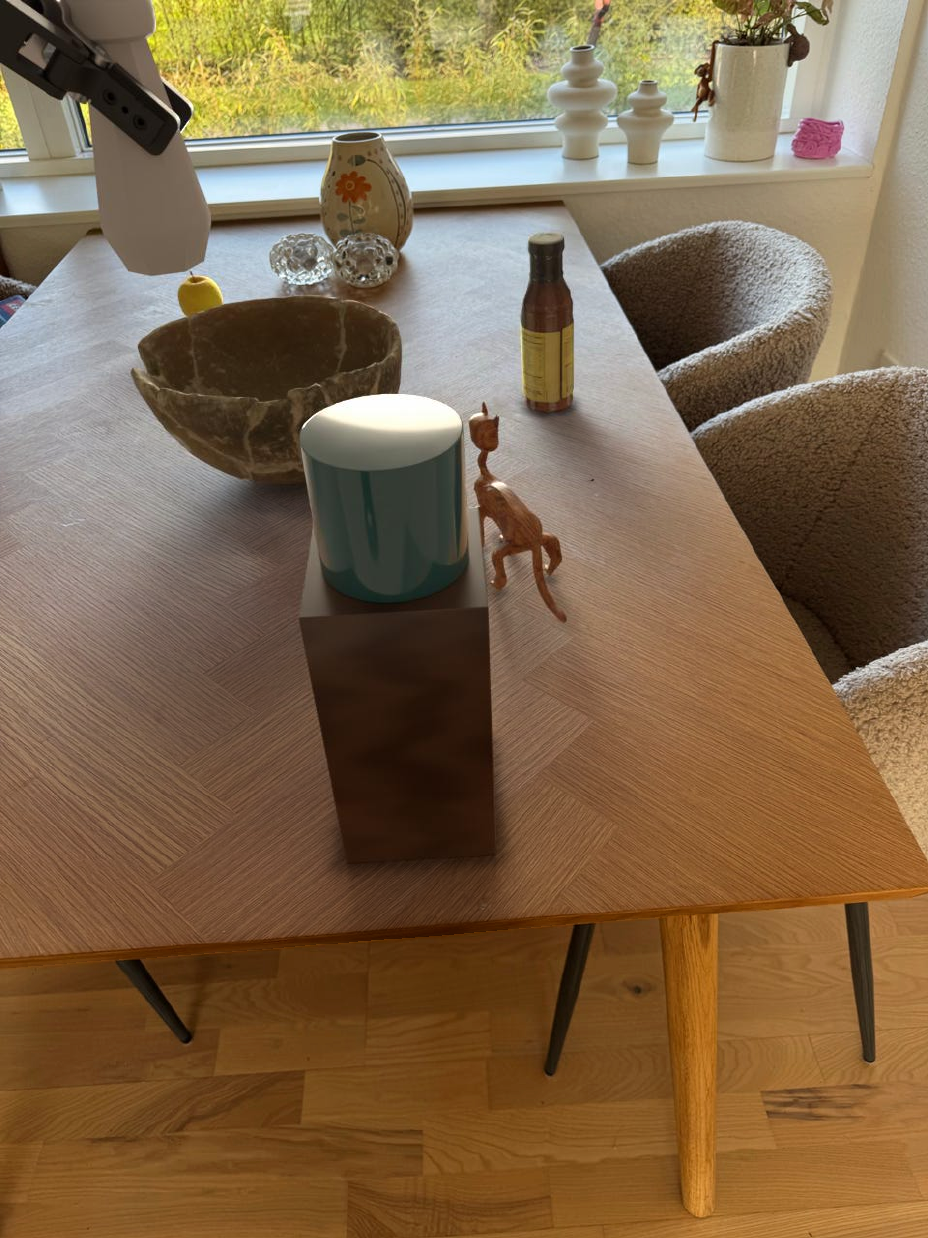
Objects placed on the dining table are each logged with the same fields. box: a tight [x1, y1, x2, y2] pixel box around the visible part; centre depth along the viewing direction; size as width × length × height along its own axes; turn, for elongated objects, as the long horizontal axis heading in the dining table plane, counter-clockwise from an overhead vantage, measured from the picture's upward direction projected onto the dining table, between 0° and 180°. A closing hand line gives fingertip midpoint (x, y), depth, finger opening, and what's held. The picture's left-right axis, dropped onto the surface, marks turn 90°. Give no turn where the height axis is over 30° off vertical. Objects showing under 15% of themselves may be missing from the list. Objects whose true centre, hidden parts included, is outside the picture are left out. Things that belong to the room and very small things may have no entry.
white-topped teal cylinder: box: [299, 393, 469, 603], centre depth 51 cm, size 11×8×8 cm
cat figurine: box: [468, 401, 568, 623], centre depth 81 cm, size 18×7×14 cm, turn 24°
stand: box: [297, 506, 497, 864], centre depth 59 cm, size 10×10×21 cm
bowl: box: [130, 294, 403, 485], centre depth 99 cm, size 28×27×15 cm
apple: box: [177, 270, 224, 317], centre depth 135 cm, size 6×6×8 cm
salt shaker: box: [65, 0, 212, 277], centre depth 47 cm, size 6×6×13 cm
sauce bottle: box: [519, 231, 575, 414], centre depth 107 cm, size 6×6×20 cm
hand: (176, 131), depth 47 cm, fingers closed on salt shaker, 3 cm apart
